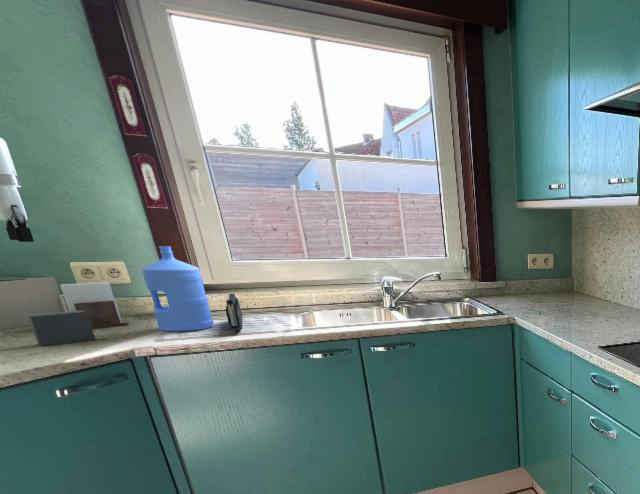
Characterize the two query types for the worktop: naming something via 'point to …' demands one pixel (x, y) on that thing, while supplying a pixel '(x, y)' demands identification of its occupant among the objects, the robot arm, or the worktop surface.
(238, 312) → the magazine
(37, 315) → the dark grey rectangular block
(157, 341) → the worktop surface
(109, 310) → the book rack
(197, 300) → the water jug
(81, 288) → the white book
